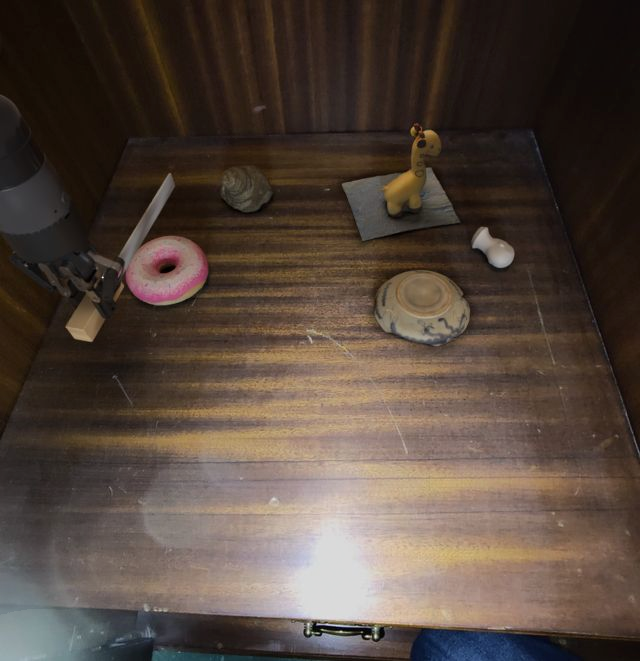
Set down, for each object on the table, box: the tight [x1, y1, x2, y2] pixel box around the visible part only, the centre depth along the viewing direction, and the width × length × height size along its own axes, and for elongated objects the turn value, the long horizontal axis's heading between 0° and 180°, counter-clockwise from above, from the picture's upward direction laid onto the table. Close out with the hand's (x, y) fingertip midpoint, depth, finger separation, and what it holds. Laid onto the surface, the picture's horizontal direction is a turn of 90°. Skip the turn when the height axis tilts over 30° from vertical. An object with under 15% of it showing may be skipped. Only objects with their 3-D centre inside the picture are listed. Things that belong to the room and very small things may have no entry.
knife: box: [65, 172, 176, 343], centre depth 70 cm, size 29×2×3 cm, turn 167°
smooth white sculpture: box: [470, 226, 515, 269], centre depth 86 cm, size 4×8×5 cm
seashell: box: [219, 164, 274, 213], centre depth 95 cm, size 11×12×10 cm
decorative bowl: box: [373, 269, 471, 347], centre depth 80 cm, size 15×4×15 cm
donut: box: [125, 235, 209, 306], centre depth 85 cm, size 14×13×5 cm
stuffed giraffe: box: [341, 123, 461, 242], centre depth 90 cm, size 16×18×16 cm
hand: (99, 311), depth 65 cm, fingers closed on knife, 2 cm apart
